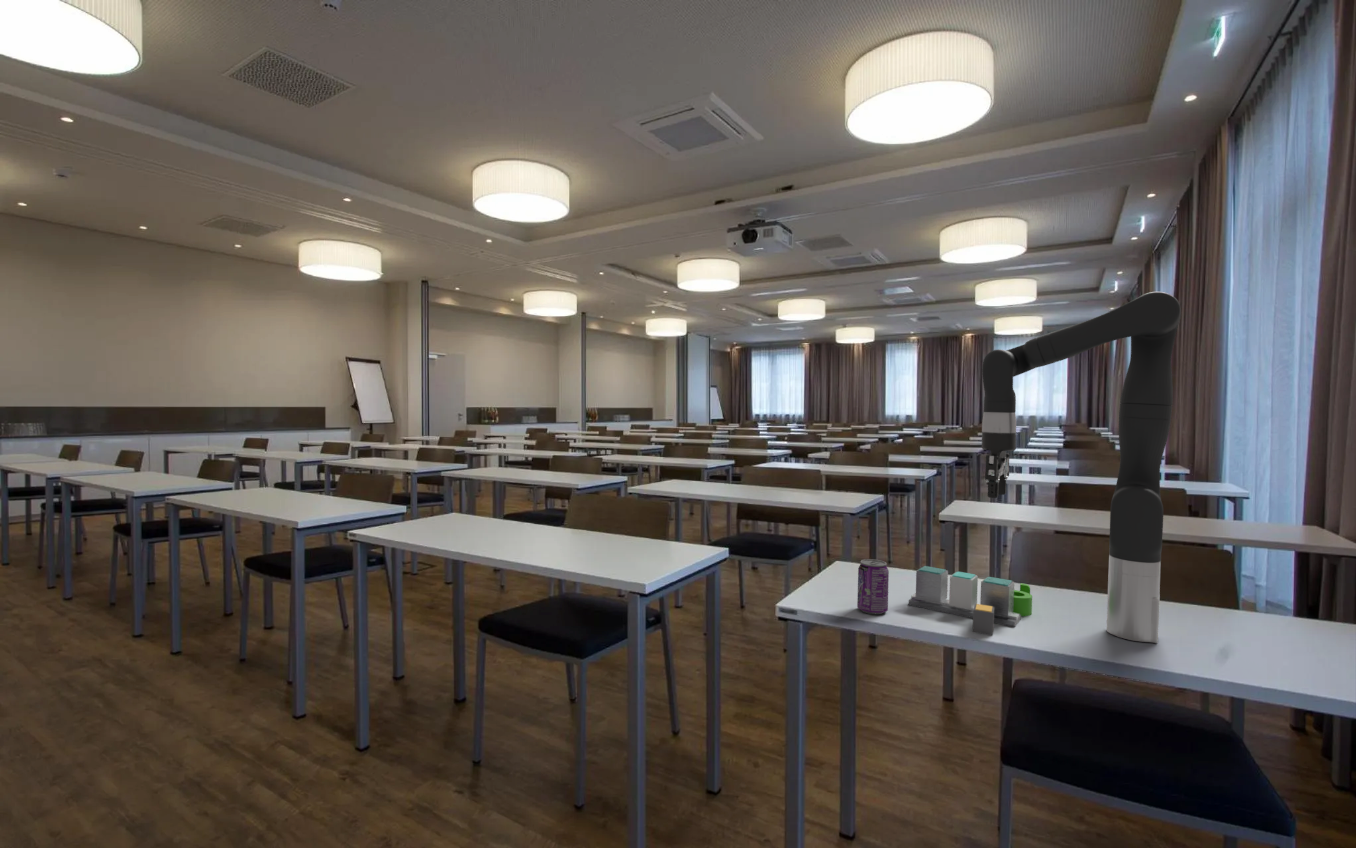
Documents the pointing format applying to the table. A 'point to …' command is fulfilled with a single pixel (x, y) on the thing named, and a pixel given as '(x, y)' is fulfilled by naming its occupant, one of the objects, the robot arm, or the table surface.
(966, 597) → the block
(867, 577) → the beverage can
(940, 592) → the rail
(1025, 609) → the tape dispenser
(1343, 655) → the table surface
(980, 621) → the block
